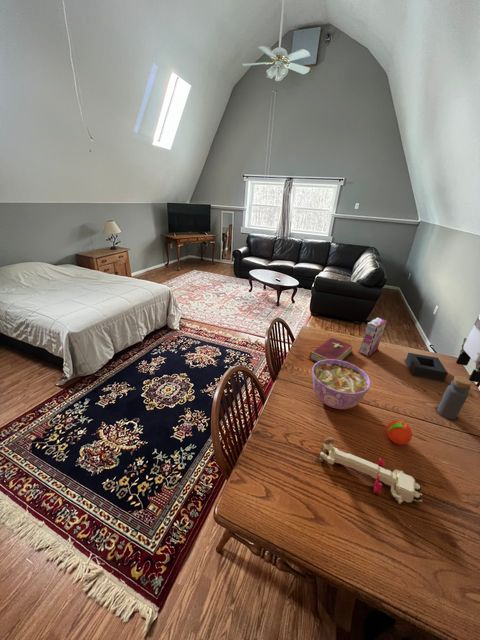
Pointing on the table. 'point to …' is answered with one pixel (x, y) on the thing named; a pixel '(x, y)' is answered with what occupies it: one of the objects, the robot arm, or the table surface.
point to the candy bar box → (372, 336)
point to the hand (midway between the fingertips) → (467, 372)
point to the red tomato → (399, 432)
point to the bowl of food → (339, 383)
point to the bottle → (454, 397)
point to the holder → (426, 366)
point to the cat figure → (375, 473)
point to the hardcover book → (331, 350)
